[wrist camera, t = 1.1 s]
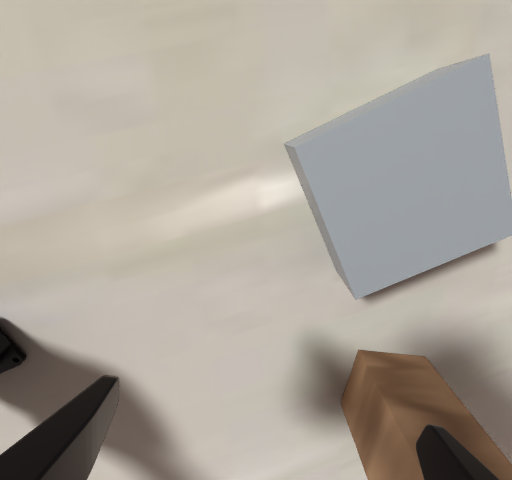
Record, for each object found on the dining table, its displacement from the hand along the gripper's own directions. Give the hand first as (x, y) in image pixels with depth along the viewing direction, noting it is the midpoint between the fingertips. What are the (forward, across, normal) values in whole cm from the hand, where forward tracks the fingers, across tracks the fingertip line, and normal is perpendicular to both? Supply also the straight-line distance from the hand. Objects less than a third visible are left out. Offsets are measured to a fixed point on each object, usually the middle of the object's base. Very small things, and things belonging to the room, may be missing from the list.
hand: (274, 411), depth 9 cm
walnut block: (+14, -13, +11) cm, 22 cm away
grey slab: (+14, -7, -5) cm, 16 cm away
